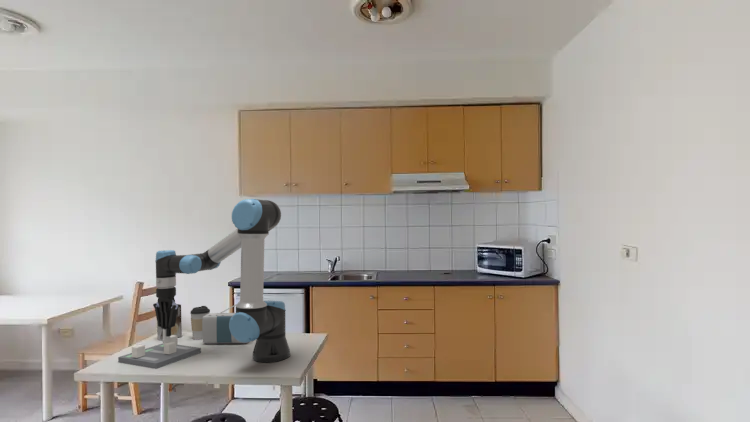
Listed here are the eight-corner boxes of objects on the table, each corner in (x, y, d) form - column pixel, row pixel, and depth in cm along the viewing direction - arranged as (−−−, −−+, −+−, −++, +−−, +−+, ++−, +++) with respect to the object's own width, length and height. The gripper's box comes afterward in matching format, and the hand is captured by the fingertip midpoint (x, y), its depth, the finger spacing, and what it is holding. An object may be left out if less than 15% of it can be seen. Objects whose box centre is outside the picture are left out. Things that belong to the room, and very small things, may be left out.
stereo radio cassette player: (201, 345, 197) (201, 301, 198) (209, 340, 205) (208, 298, 206) (246, 344, 196) (246, 301, 197) (252, 339, 204) (251, 297, 205)
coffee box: (174, 335, 216) (174, 303, 216) (182, 336, 212) (181, 304, 213) (156, 339, 208) (156, 306, 208) (164, 341, 204) (164, 307, 205)
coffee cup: (203, 340, 204) (203, 309, 205) (186, 340, 206) (186, 308, 207) (214, 335, 213) (213, 305, 214) (197, 335, 215) (197, 305, 215)
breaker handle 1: (145, 355, 175) (145, 345, 175) (137, 357, 172) (136, 347, 172) (140, 354, 176) (140, 344, 176) (131, 357, 173) (131, 347, 173)
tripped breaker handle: (176, 351, 179) (176, 342, 179) (169, 354, 176) (169, 344, 176) (171, 351, 180) (171, 341, 180) (163, 353, 177) (163, 343, 177)
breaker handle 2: (177, 344, 190) (177, 335, 190) (170, 346, 186) (170, 337, 186) (172, 344, 191) (172, 335, 191) (165, 346, 188) (165, 337, 188)
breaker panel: (200, 352, 186) (200, 347, 186) (156, 368, 165) (156, 363, 166) (164, 347, 195) (164, 342, 195) (118, 362, 174) (118, 356, 174)
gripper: (147, 287, 179) (147, 344, 178) (169, 289, 173) (170, 347, 173) (162, 285, 186) (163, 340, 185) (184, 286, 180) (185, 343, 180)
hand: (166, 343), depth 179 cm, fingers closed
